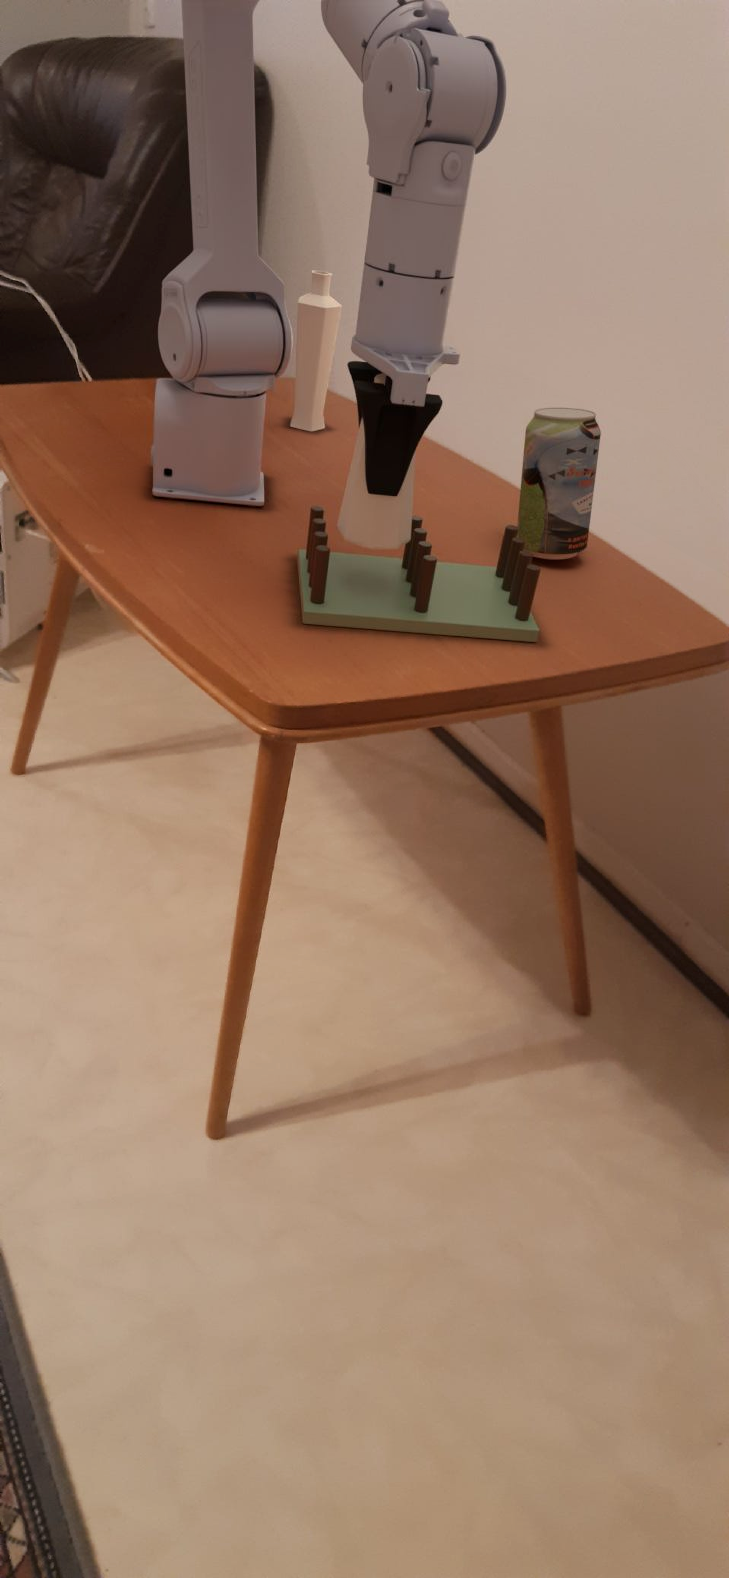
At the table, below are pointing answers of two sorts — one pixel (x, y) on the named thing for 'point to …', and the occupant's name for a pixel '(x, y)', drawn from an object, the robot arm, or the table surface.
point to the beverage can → (558, 481)
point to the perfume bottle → (314, 351)
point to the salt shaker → (375, 505)
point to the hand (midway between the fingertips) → (379, 483)
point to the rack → (418, 588)
